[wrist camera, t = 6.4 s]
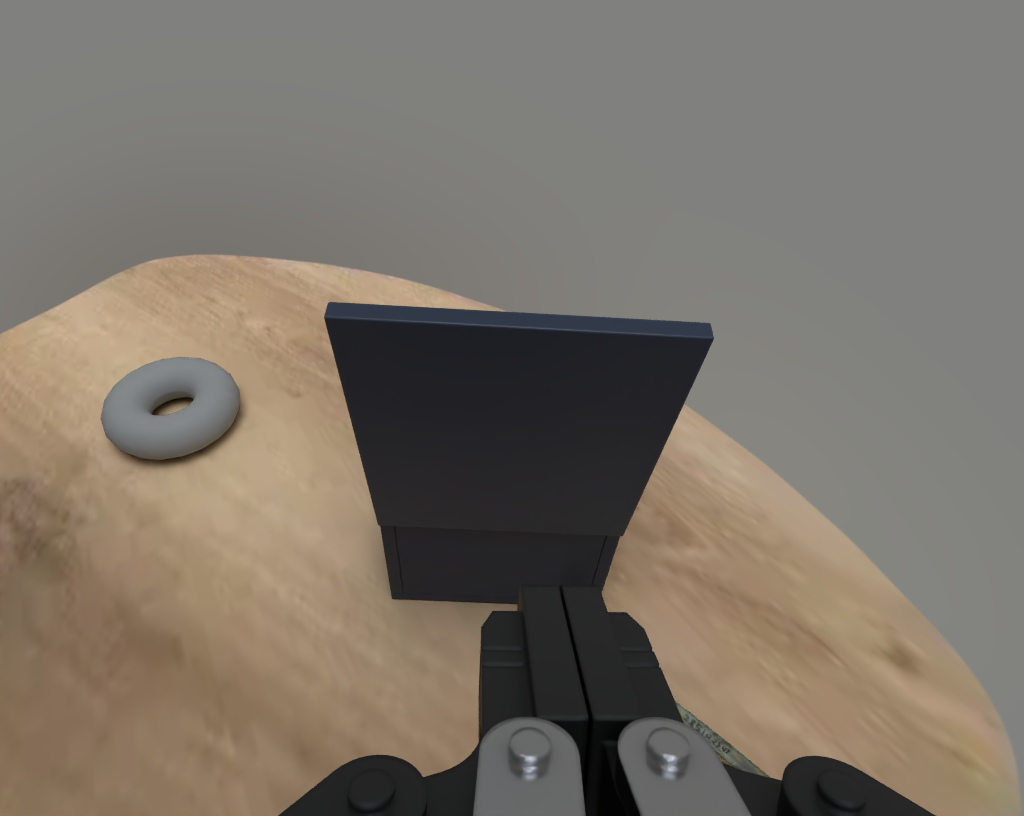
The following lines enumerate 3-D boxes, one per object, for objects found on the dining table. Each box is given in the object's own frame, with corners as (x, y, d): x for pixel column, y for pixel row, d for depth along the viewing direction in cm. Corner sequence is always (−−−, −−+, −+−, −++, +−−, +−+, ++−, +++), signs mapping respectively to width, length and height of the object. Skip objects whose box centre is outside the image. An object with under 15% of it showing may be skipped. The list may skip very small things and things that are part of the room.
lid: (327, 300, 22) (323, 317, 22) (711, 321, 23) (715, 338, 22) (379, 512, 36) (377, 526, 35) (622, 523, 36) (623, 537, 36)
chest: (419, 424, 53) (413, 342, 47) (582, 432, 53) (599, 352, 47) (391, 599, 42) (379, 523, 36) (597, 607, 42) (621, 534, 36)
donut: (109, 397, 53) (112, 485, 47) (92, 366, 51) (93, 454, 44) (235, 367, 56) (254, 446, 50) (224, 337, 54) (243, 415, 48)
